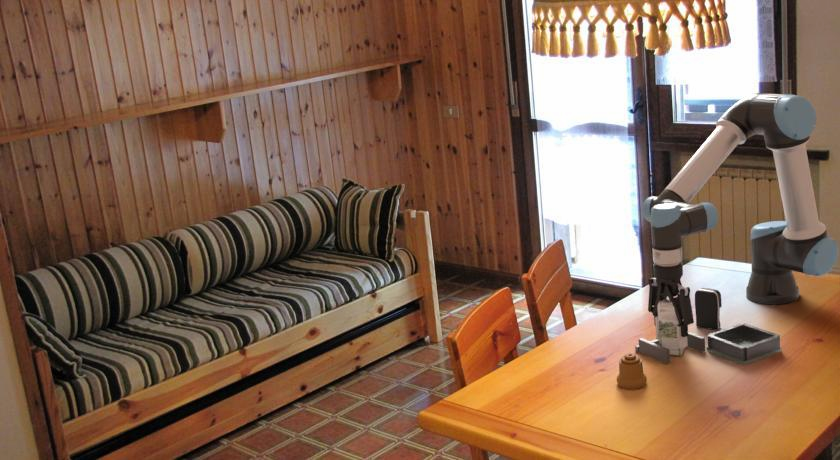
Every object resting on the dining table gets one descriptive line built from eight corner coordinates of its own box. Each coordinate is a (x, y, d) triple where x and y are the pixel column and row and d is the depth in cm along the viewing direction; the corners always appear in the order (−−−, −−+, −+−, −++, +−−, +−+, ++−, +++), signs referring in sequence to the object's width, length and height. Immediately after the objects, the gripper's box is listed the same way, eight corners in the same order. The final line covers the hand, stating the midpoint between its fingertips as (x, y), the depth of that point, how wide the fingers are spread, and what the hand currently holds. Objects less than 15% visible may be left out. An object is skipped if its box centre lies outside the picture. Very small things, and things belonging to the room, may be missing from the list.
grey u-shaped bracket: (673, 338, 262) (672, 325, 261) (705, 351, 251) (704, 337, 250) (635, 351, 256) (634, 337, 255) (666, 364, 245) (665, 350, 244)
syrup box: (684, 348, 254) (682, 298, 250) (681, 356, 249) (678, 305, 245) (663, 347, 256) (660, 297, 253) (659, 355, 251) (656, 304, 248)
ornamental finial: (652, 381, 236) (637, 392, 231) (626, 376, 241) (611, 386, 236) (650, 352, 234) (635, 363, 229) (624, 347, 239) (609, 357, 234)
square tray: (743, 337, 256) (743, 322, 255) (781, 351, 245) (781, 335, 244) (706, 350, 251) (705, 335, 250) (743, 365, 239) (743, 349, 238)
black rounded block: (724, 326, 266) (722, 288, 263) (717, 331, 263) (716, 292, 260) (701, 322, 271) (700, 285, 268) (695, 327, 268) (693, 289, 265)
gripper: (631, 257, 254) (635, 335, 260) (683, 273, 236) (687, 357, 241) (652, 251, 257) (656, 328, 263) (706, 267, 239) (709, 349, 244)
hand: (671, 342), depth 252 cm, fingers closed on syrup box, 8 cm apart
